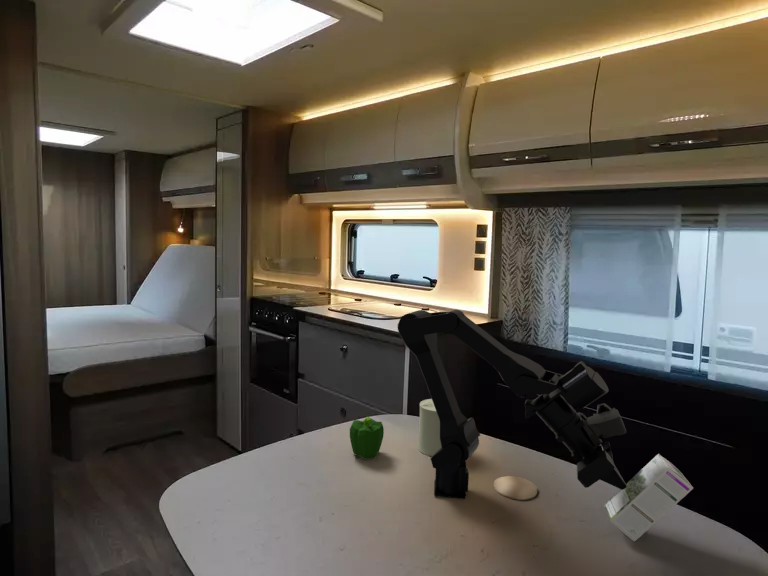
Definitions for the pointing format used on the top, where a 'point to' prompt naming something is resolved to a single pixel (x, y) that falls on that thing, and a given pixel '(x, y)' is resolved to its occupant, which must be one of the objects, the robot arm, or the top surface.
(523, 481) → the cork coaster
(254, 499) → the top surface
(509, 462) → the top surface
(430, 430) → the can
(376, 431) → the bell pepper
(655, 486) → the syrup box
